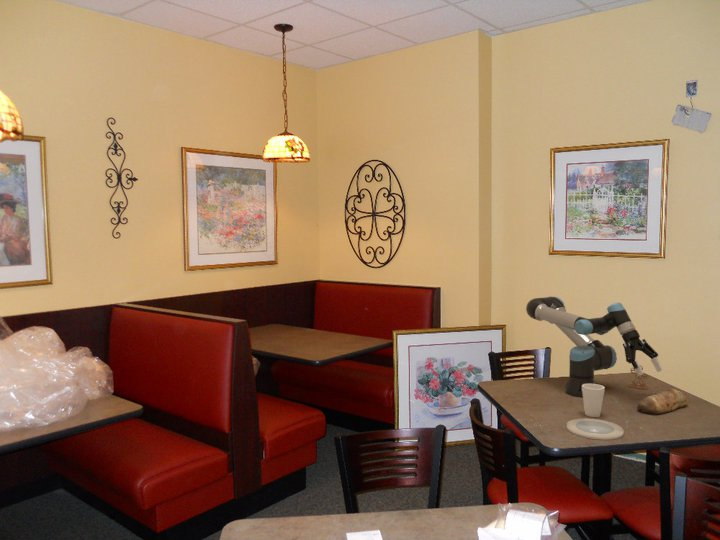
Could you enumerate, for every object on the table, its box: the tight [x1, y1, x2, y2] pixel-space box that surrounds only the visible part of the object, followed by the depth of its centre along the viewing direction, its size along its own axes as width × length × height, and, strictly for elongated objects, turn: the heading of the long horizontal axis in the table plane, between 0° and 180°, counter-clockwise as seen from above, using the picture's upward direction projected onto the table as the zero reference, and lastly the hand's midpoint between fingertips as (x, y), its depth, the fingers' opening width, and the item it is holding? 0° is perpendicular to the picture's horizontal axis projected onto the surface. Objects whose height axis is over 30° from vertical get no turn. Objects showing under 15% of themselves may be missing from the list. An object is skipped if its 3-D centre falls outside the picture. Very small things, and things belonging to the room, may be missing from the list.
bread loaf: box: [636, 388, 688, 416], centre depth 268 cm, size 35×18×9 cm, turn 131°
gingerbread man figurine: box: [628, 365, 650, 391], centre depth 301 cm, size 9×4×12 cm, turn 50°
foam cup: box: [582, 383, 606, 418], centre depth 260 cm, size 10×9×13 cm
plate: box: [566, 417, 625, 441], centre depth 241 cm, size 22×22×1 cm
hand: (650, 372), depth 273 cm, fingers open, 13 cm apart
